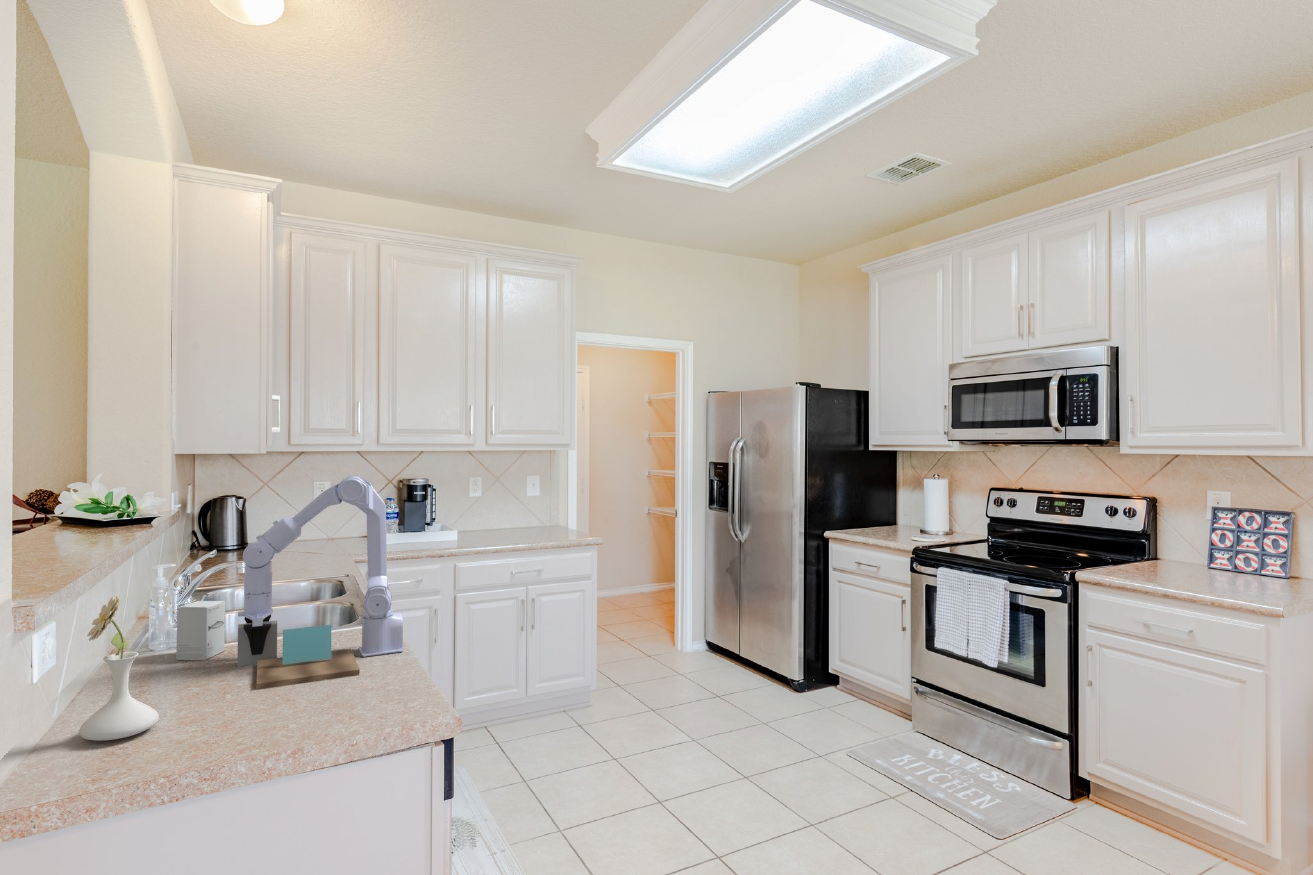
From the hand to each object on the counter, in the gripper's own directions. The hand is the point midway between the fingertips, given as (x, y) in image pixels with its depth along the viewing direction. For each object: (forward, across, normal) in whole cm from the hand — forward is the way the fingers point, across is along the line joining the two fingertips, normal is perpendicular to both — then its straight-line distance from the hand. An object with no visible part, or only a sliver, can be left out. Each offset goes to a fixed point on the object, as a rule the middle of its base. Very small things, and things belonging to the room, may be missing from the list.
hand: (257, 650), depth 166 cm
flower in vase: (+3, +36, -21) cm, 42 cm away
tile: (-3, +10, +10) cm, 14 cm away
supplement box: (+3, -12, -12) cm, 17 cm away
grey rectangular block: (+3, 0, 0) cm, 3 cm away
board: (+3, +12, +10) cm, 16 cm away
